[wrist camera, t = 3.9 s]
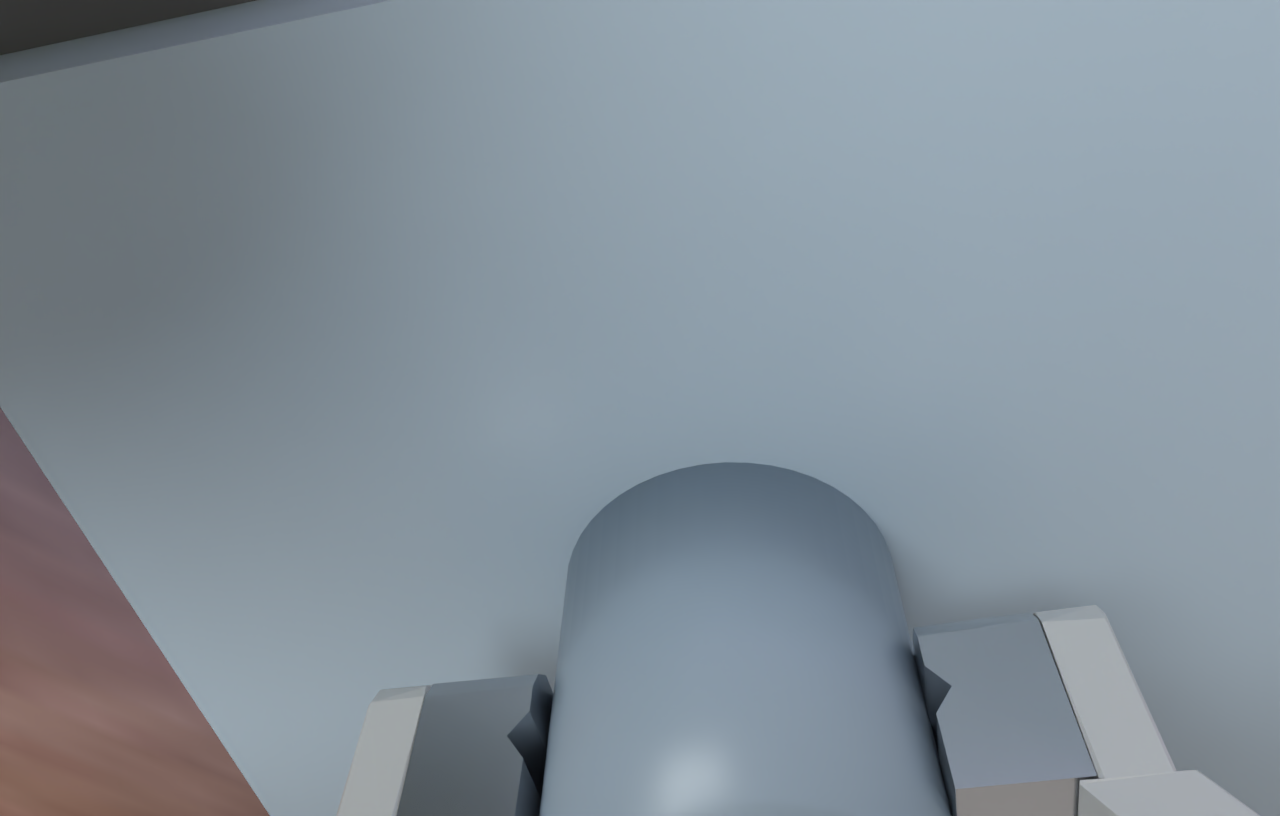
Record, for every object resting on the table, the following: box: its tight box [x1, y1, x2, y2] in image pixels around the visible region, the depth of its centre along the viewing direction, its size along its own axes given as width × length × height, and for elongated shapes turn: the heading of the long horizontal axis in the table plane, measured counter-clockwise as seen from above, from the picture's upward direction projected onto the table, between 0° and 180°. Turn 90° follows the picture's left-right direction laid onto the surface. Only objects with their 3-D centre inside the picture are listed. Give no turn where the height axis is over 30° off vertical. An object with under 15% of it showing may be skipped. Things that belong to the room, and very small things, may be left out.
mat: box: [0, 0, 256, 55], centre depth 12 cm, size 13×13×1 cm
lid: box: [0, 0, 1280, 816], centre depth 10 cm, size 12×12×4 cm
